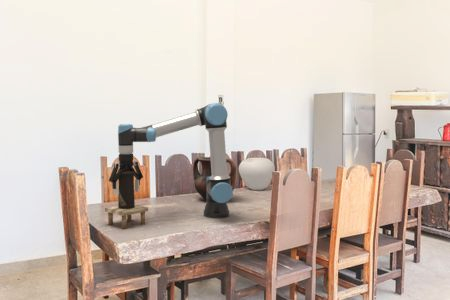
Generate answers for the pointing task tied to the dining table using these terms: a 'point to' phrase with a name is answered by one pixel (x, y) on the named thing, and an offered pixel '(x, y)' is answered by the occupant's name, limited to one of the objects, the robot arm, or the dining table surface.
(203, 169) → the jug
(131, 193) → the container
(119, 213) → the footstool
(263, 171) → the vase
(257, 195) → the dining table surface
